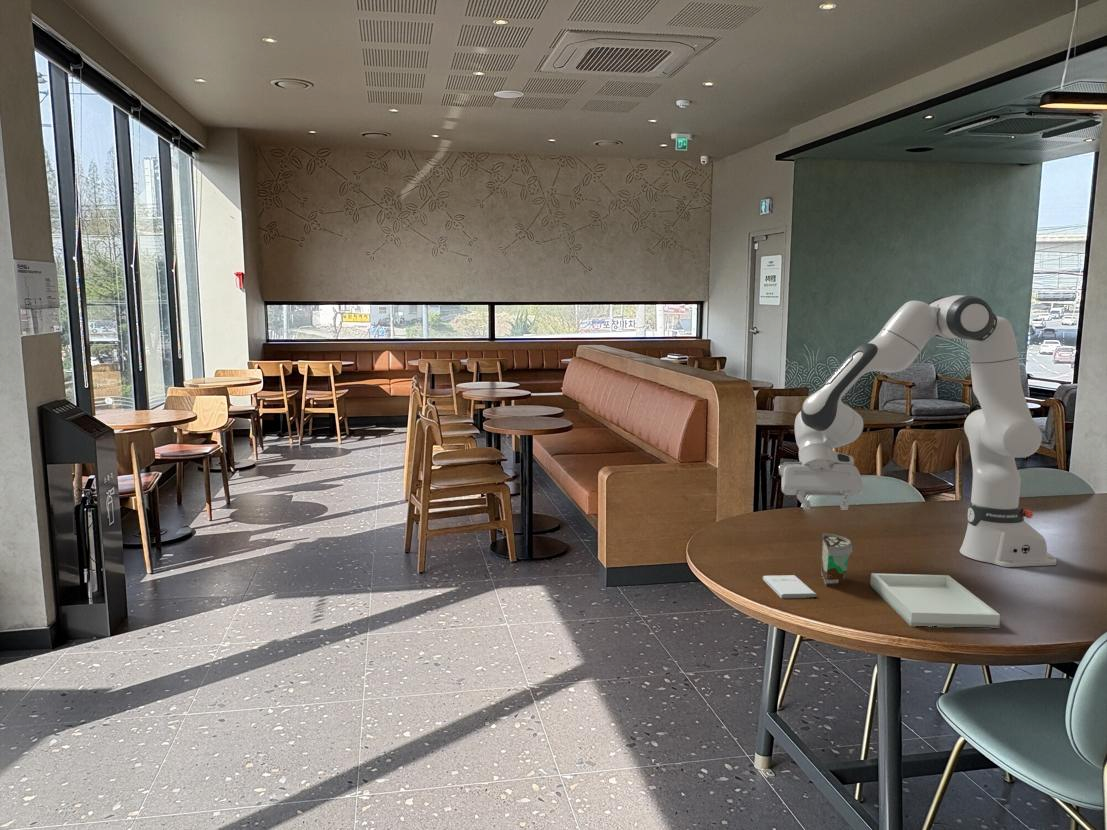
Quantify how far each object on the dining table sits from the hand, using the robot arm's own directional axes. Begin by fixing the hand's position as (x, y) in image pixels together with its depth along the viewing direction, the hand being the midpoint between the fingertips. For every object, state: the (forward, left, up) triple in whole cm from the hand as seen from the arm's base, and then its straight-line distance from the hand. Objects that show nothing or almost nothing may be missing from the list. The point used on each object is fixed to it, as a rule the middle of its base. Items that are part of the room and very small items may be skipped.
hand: (826, 508), depth 203 cm
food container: (0, +12, -15) cm, 19 cm away
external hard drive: (+13, +18, -16) cm, 27 cm away
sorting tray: (-16, +27, -15) cm, 34 cm away
